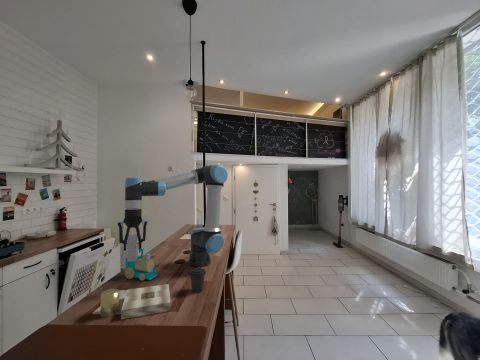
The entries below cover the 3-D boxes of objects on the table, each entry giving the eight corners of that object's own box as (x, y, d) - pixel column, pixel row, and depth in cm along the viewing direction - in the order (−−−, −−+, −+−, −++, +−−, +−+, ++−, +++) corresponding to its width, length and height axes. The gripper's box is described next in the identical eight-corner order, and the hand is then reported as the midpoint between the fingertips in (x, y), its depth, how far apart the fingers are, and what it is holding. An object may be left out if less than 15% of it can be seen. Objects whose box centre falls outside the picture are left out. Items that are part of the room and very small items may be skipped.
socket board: (168, 291, 108) (168, 283, 108) (170, 310, 91) (170, 302, 91) (127, 297, 102) (127, 289, 102) (121, 319, 85) (121, 310, 85)
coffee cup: (208, 287, 112) (208, 267, 112) (200, 295, 104) (200, 273, 104) (194, 285, 114) (194, 265, 115) (185, 292, 107) (185, 271, 107)
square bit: (137, 258, 111) (137, 234, 112) (136, 260, 108) (136, 235, 108) (128, 259, 110) (128, 234, 110) (127, 261, 106) (127, 236, 107)
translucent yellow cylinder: (120, 306, 94) (120, 287, 94) (117, 315, 88) (118, 294, 88) (102, 309, 92) (103, 290, 92) (98, 318, 86) (99, 297, 86)
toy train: (149, 282, 119) (149, 253, 119) (124, 278, 124) (124, 251, 124) (158, 276, 126) (159, 249, 127) (134, 273, 131) (135, 247, 132)
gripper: (152, 207, 116) (151, 252, 115) (115, 208, 110) (114, 256, 110) (151, 208, 109) (151, 257, 108) (112, 209, 103) (111, 260, 103)
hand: (132, 256), depth 109 cm, fingers closed on square bit, 4 cm apart
